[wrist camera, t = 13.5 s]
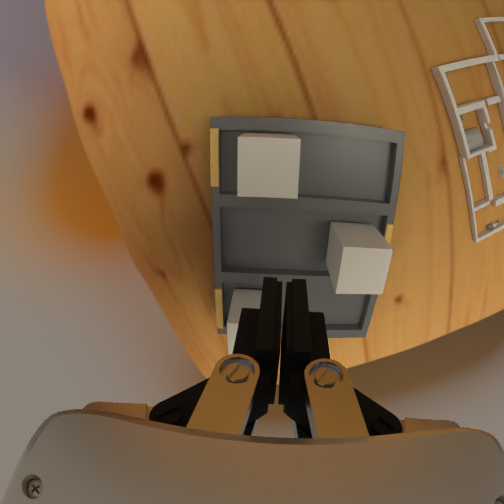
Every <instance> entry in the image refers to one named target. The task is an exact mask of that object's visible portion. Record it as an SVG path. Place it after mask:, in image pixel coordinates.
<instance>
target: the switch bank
mask: <svg viewBox="0 0 504 504" xmlns="http://www.w3.org/2000/svg"><path fill="white" fill-rule="evenodd" d="M244 133H274V134H294V135H296V136H297V137H298V138H300V139H301V145H300V165H299V182H298V198H297V199H292V198H269V197H239V196H237V164H238V136H240V135H242V134H244ZM404 139H405V132H402V131H396V130H390V129H384V128H378V127H371V126H364V125H357V124H349V123H340V122H331V121H320V120H308V119H294V118H273V117H211V128H210V175H211V193H212V228H213V254H214V276H215V304H216V320H217V328H218V333H221V334H227V320H228V315H229V311H230V306H231V301H232V296H233V291H234V289H247V290H262V287H263V279H264V277H276V278H277V281H282V315H281V336H282V325H283V315H284V305H285V294H286V283H287V282H292V278H293V279H306V285H307V296H308V306H309V312H323V313H324V317H325V324H326V331H327V338H343V337H365V336H366V333H367V330H368V326H369V323H370V320H371V316H372V313H373V309H374V305H375V302H376V298H377V294H336V293H335V290H334V287H333V284H332V280H331V277H330V274H329V271H328V268H327V265H326V256H327V248H328V240H329V232H330V224H331V222H347V223H362V224H373V225H374V226H375V227H376V229H377V230H378V231H379V232H380V233H381V235H382V236H383V237H384V238H385V240H386V241H387V242H388V243H389V245H390V243H391V239H392V233H393V228H394V224H393V222H394V216H395V210H396V204H397V198H398V191H399V184H400V176H401V168H402V160H403V150H404Z"/></svg>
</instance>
